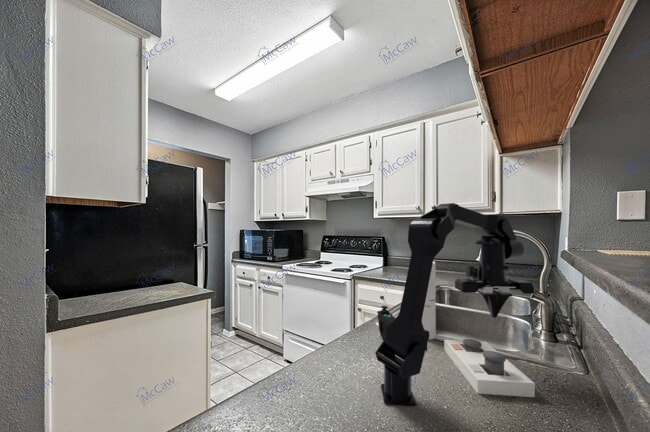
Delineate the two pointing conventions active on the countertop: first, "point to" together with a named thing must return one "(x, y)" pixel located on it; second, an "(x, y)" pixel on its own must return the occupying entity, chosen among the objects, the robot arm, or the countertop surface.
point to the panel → (480, 380)
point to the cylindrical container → (430, 305)
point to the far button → (472, 345)
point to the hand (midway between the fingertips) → (493, 317)
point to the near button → (494, 363)
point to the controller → (384, 321)
